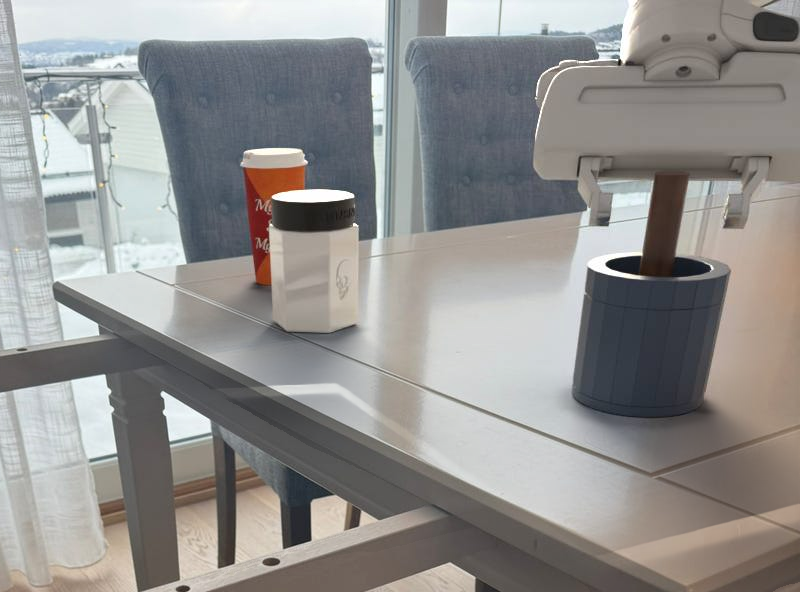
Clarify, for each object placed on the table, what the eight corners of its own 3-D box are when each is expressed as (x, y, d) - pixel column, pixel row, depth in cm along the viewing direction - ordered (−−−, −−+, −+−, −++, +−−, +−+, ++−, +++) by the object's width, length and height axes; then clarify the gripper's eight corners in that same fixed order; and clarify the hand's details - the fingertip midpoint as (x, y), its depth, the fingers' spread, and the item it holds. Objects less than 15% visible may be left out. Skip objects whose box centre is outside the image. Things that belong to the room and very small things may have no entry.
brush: (640, 373, 78) (675, 166, 69) (682, 390, 74) (725, 174, 65) (591, 381, 76) (621, 171, 68) (632, 400, 72) (669, 179, 64)
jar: (317, 339, 91) (314, 205, 85) (257, 325, 96) (250, 198, 89) (373, 319, 97) (374, 193, 90) (314, 308, 101) (311, 186, 95)
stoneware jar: (643, 369, 81) (664, 247, 76) (730, 404, 73) (761, 271, 68) (546, 387, 78) (561, 260, 72) (626, 425, 70) (649, 287, 64)
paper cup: (260, 290, 109) (253, 156, 101) (238, 277, 115) (230, 150, 107) (321, 283, 111) (319, 151, 104) (296, 270, 117) (292, 145, 109)
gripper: (542, 29, 69) (522, 192, 67) (839, 21, 65) (830, 195, 63) (538, 94, 75) (520, 246, 73) (809, 91, 71) (800, 252, 69)
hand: (666, 223), depth 68 cm, fingers open, 8 cm apart
